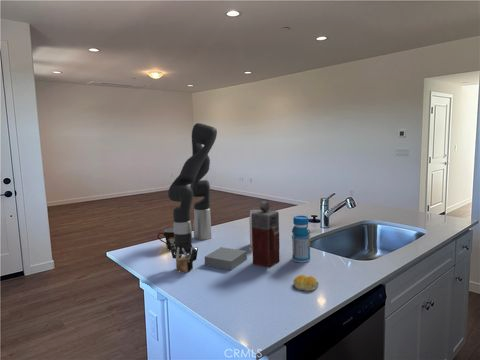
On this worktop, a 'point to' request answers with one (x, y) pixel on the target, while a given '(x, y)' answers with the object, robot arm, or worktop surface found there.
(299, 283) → the bread roll
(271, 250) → the red rectangular canister
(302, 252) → the beverage bottle
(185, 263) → the walnut cube
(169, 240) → the coffee mug
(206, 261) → the gray square block
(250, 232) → the milk carton
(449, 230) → the worktop surface
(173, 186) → the robot arm
